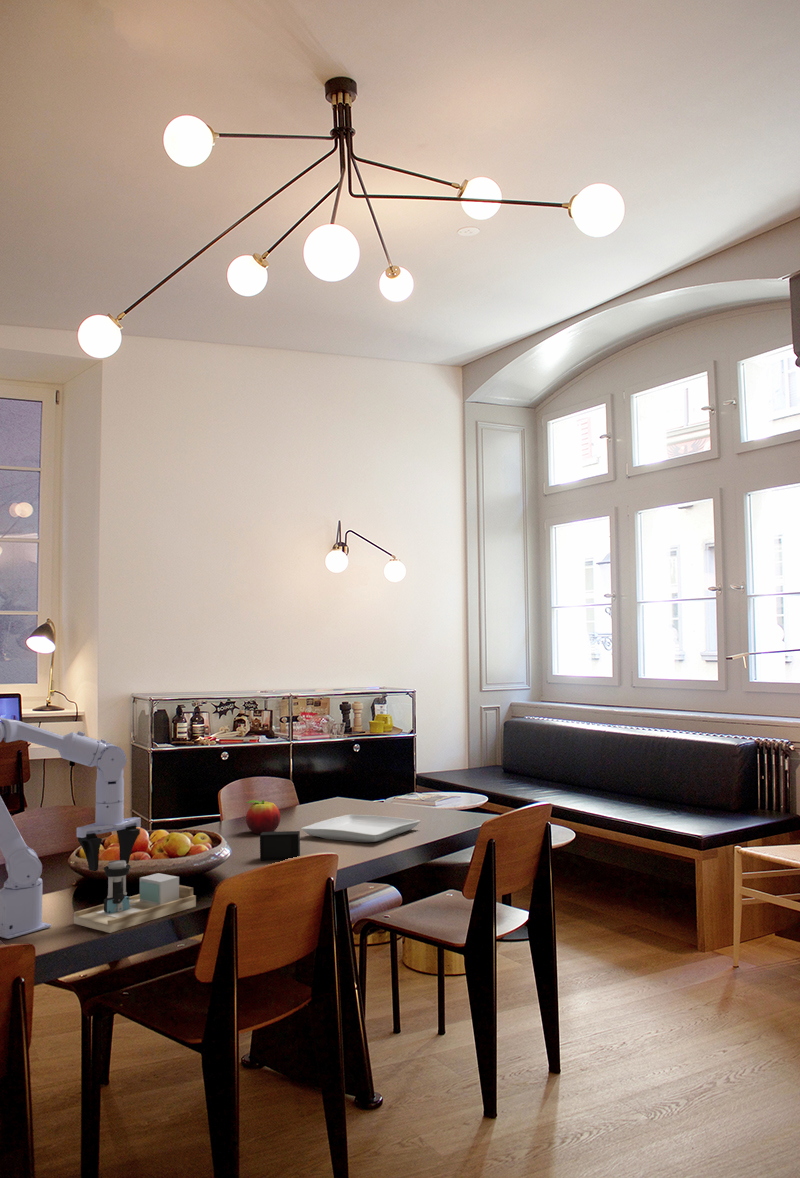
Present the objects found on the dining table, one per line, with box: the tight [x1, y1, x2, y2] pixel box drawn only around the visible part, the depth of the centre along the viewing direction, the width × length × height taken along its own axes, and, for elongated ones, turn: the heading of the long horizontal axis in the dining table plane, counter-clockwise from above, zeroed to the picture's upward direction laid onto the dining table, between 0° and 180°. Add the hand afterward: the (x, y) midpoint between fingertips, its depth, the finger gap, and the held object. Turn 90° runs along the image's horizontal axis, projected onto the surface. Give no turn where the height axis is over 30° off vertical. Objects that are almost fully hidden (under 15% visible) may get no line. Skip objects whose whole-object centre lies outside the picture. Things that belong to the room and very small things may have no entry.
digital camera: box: [259, 830, 301, 862], centre depth 238 cm, size 10×5×7 cm, turn 91°
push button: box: [103, 859, 135, 914], centre depth 185 cm, size 7×5×10 cm
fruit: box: [245, 799, 281, 835], centre depth 276 cm, size 11×11×10 cm
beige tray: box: [73, 884, 197, 934], centre depth 187 cm, size 22×12×4 cm, turn 144°
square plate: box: [300, 813, 421, 843], centre depth 269 cm, size 27×27×4 cm
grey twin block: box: [139, 872, 180, 905], centre depth 192 cm, size 5×7×5 cm
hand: (109, 866), depth 186 cm, fingers open, 7 cm apart
